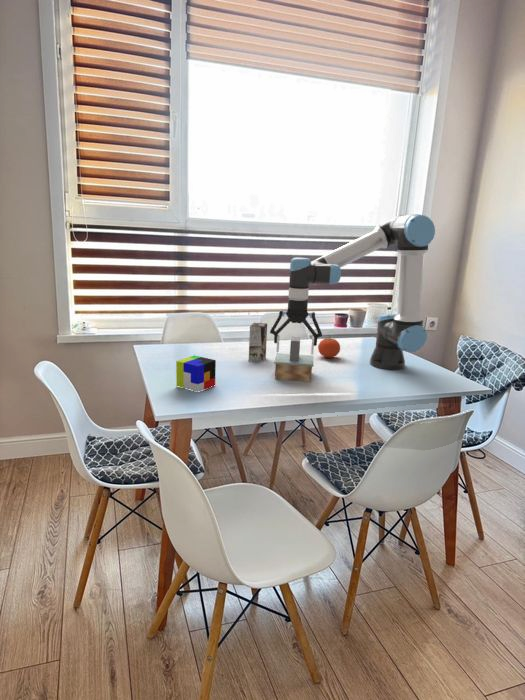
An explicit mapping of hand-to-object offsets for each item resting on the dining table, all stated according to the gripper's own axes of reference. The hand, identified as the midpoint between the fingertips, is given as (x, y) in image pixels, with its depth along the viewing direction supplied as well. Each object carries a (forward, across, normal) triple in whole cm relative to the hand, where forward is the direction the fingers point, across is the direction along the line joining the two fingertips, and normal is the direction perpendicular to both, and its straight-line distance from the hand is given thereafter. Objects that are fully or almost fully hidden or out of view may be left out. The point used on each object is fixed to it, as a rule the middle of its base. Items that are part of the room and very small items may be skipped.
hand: (294, 352), depth 185 cm
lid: (+5, 0, 0) cm, 5 cm away
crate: (+10, 0, 0) cm, 10 cm away
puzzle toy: (+11, +35, +19) cm, 41 cm away
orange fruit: (+10, -15, -34) cm, 39 cm away
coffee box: (+10, +17, -22) cm, 30 cm away
